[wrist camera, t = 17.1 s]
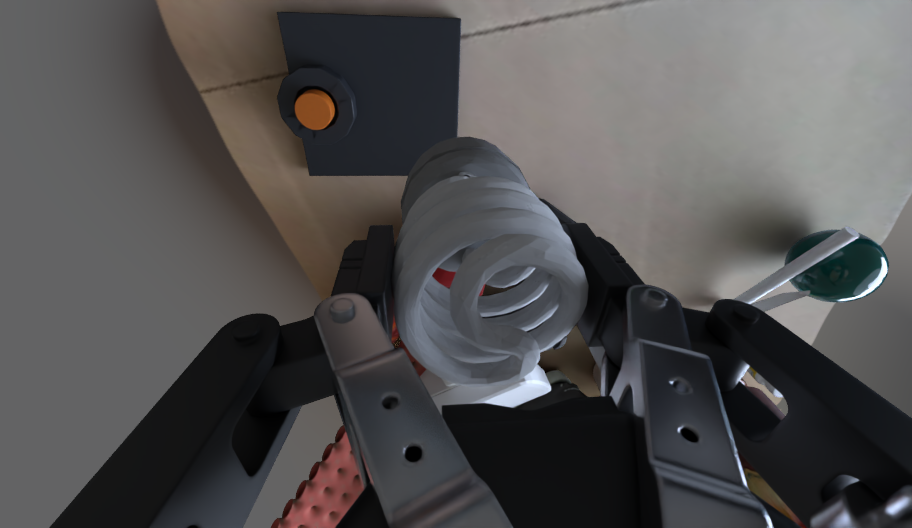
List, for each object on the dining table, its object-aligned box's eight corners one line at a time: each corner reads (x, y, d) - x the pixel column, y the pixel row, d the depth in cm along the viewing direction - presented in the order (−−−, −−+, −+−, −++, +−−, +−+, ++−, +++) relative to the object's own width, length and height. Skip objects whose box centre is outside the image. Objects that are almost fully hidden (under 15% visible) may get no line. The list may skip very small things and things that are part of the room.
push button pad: (304, 170, 34) (296, 183, 31) (271, 11, 27) (257, 11, 25) (454, 170, 35) (457, 182, 33) (459, 18, 28) (463, 19, 26)
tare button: (303, 124, 29) (298, 130, 28) (296, 88, 28) (290, 92, 26) (337, 124, 29) (333, 130, 28) (332, 89, 28) (328, 93, 27)
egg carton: (267, 530, 44) (266, 545, 42) (406, 333, 47) (411, 339, 45) (439, 574, 56) (444, 587, 54) (540, 416, 59) (549, 423, 57)
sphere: (763, 282, 47) (819, 327, 40) (769, 232, 42) (834, 273, 36) (831, 259, 46) (901, 302, 39) (845, 205, 41) (926, 243, 35)
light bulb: (519, 205, 20) (616, 391, 10) (421, 232, 21) (426, 436, 11) (500, 98, 17) (615, 221, 7) (384, 133, 18) (344, 294, 8)
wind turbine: (906, 243, 37) (733, 338, 53) (774, 194, 36) (640, 305, 52) (929, 271, 34) (741, 362, 50) (788, 219, 34) (643, 327, 50)
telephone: (561, 392, 47) (532, 326, 52) (525, 376, 30) (486, 280, 35) (454, 435, 51) (435, 370, 55) (367, 443, 34) (350, 347, 38)
